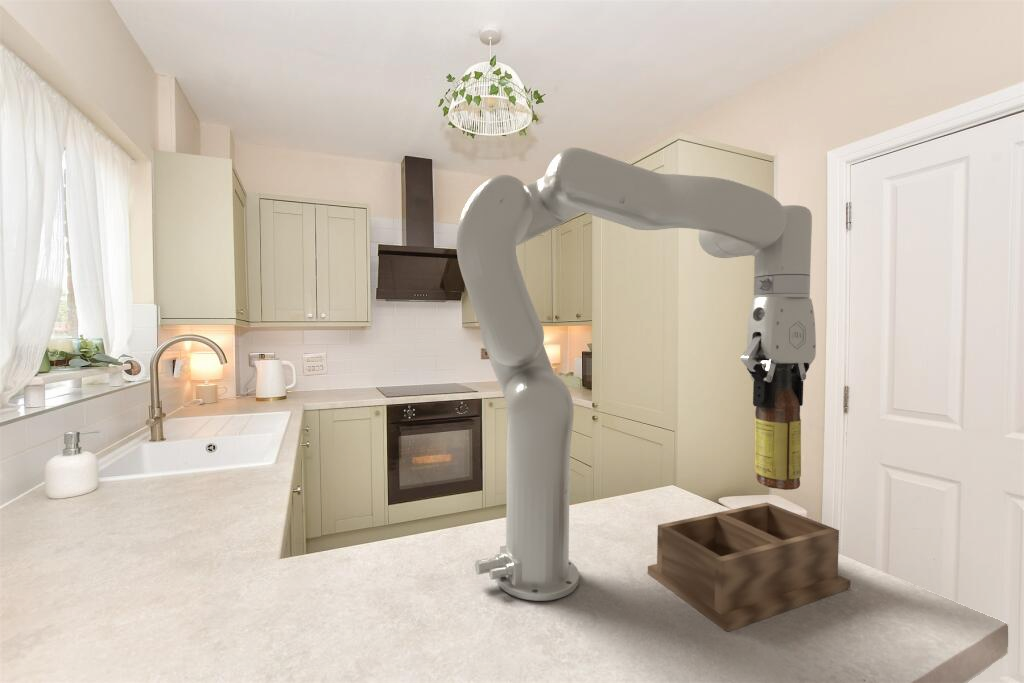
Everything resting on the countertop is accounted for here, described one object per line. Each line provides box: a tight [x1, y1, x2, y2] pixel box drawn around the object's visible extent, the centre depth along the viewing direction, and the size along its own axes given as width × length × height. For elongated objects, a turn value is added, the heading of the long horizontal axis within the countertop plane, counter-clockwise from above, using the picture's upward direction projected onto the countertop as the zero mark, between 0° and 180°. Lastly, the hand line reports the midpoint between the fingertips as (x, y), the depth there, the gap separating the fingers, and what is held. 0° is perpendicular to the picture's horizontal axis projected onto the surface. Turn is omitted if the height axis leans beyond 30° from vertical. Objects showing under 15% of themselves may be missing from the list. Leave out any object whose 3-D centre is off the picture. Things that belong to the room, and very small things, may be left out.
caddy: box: [647, 501, 851, 633], centre depth 70 cm, size 25×15×8 cm, turn 114°
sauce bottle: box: [754, 358, 802, 491], centre depth 72 cm, size 7×6×20 cm
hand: (777, 404), depth 72 cm, fingers closed on sauce bottle, 5 cm apart
